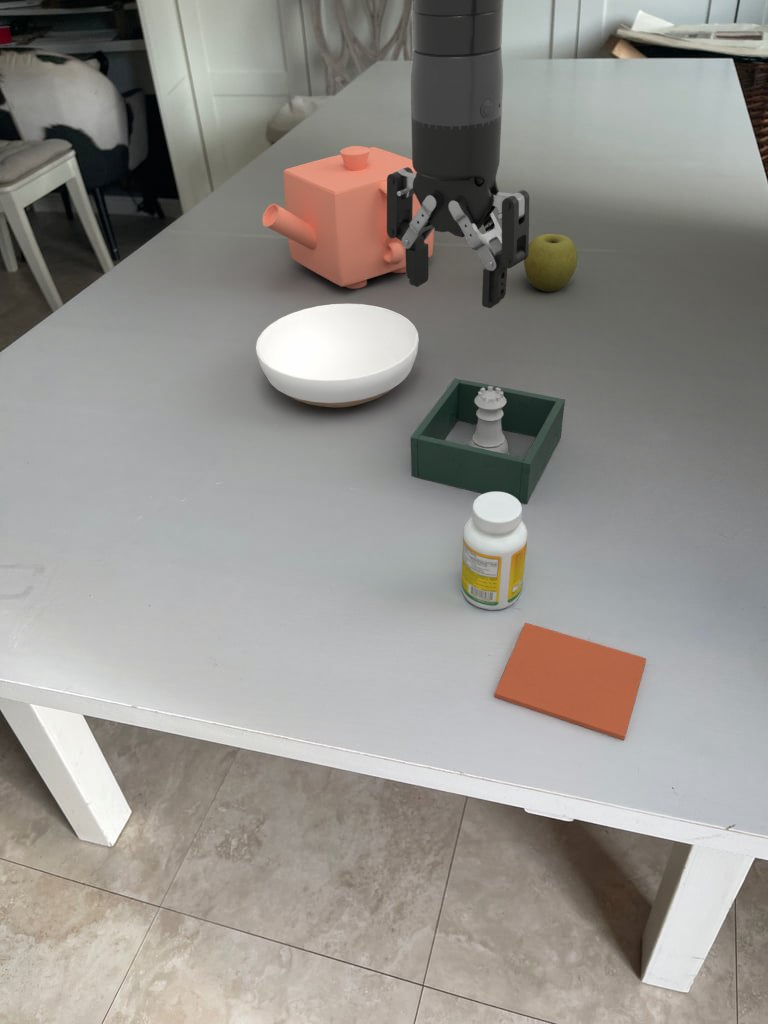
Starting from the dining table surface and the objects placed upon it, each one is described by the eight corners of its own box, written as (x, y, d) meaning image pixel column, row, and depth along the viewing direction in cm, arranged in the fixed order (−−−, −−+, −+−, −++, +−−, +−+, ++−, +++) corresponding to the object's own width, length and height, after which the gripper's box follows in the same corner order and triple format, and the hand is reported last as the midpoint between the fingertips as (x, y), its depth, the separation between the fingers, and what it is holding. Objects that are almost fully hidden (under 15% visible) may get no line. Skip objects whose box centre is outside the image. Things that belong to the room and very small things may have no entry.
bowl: (232, 382, 102) (224, 338, 98) (353, 332, 111) (350, 289, 107) (325, 447, 90) (320, 400, 86) (452, 384, 99) (452, 339, 95)
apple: (580, 279, 121) (585, 232, 116) (566, 301, 115) (571, 252, 111) (531, 272, 123) (534, 226, 119) (515, 293, 118) (518, 246, 113)
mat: (645, 662, 65) (646, 658, 64) (624, 740, 59) (625, 736, 59) (525, 626, 68) (525, 622, 68) (494, 697, 63) (494, 693, 62)
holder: (560, 437, 89) (565, 399, 86) (526, 504, 81) (530, 464, 77) (454, 415, 94) (454, 377, 90) (411, 476, 85) (410, 437, 82)
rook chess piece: (517, 460, 86) (521, 395, 81) (482, 473, 85) (485, 409, 80) (492, 440, 89) (495, 377, 84) (458, 453, 88) (460, 389, 83)
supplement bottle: (472, 617, 69) (475, 533, 63) (453, 575, 73) (454, 492, 67) (531, 604, 70) (540, 520, 64) (509, 564, 74) (515, 481, 68)
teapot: (315, 322, 114) (301, 193, 102) (238, 273, 128) (219, 155, 117) (451, 273, 124) (452, 151, 113) (367, 233, 139) (360, 122, 127)
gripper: (554, 110, 65) (539, 298, 76) (416, 91, 73) (419, 264, 83) (504, 132, 61) (494, 328, 71) (362, 109, 68) (372, 290, 79)
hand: (454, 293), depth 77 cm, fingers open, 8 cm apart
